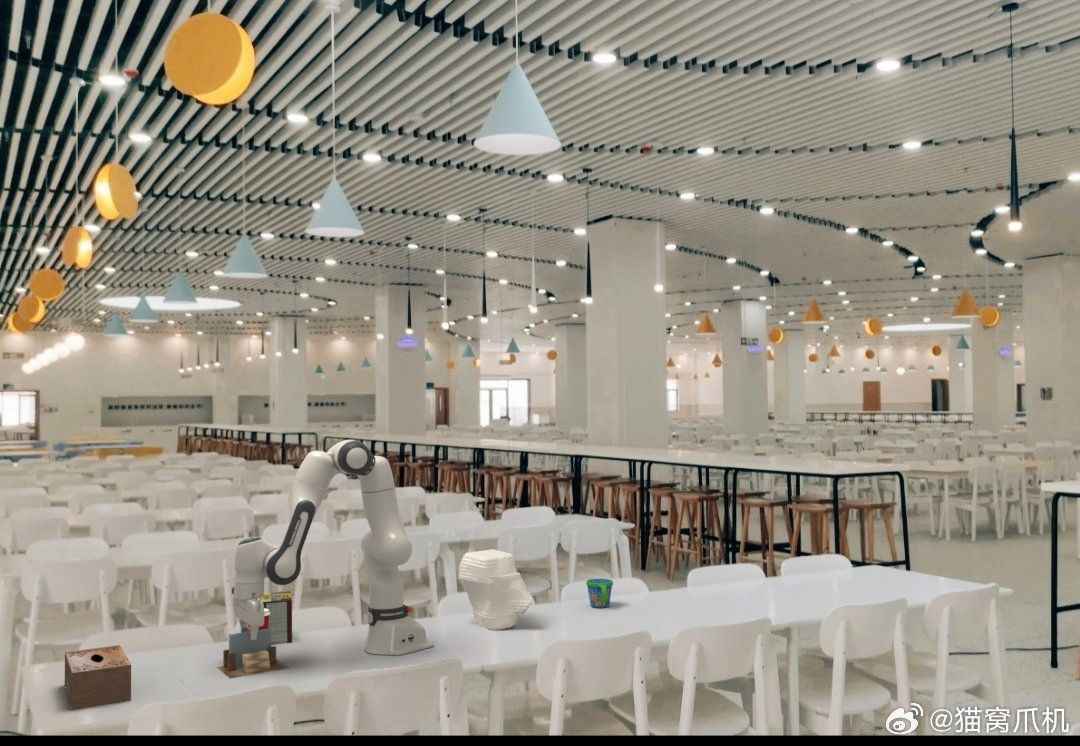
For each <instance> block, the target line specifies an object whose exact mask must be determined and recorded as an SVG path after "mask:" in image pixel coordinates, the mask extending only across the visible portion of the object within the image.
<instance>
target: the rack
mask: <svg viewBox="0 0 1080 746" xmlns="http://www.w3.org/2000/svg"><path fill="white" fill-rule="evenodd" d="M222 651H223V655H222V657H223V658H222V659H223V660H222V663H223V665H219V666H217V667H216V668H217V669H218V670H220V672H222V673H223V674H224V675H225V676H226V677H228V679H235V678H240V677H248V676H252V675H259V674H265V673H271V672H276V671H282V670H286V669H291V667H290V666H288V665H286V664H285V663H284V662H282V661H281V660H280V659H278V658H277V646H276V645H271V643H270V647H269V661H270V669H268V670H262V671H256V672H250V673H246V672H244V667H241V668H236V653H235V652H234V653H229V648H228V649H223V650H222Z"/></svg>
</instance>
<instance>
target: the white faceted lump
mask: <svg viewBox="0 0 1080 746" xmlns="http://www.w3.org/2000/svg"><path fill="white" fill-rule="evenodd" d="M515 564H516V562H515V557H514V555H513V554H512V553H509V552H507V551H501V550H497V549H493V548H492V549H486V550H485V549H484V550H478V551H477V550H476V551H470V552H469V551H468V552H465V553H464V554H463V555H462V558H461V561H460V562H459V565H458V566H459V569H458V577H457V579H459V581H460V584H461V585H462V587H463V589H464V591H465V593H467V596H468V597H467V598H468V601H469V603H470V605H471V607H472V613H473V618H474V621H475V624H476V625H477V626H478V627H479V628H482V629H483V628H484V629H487V630H490V631H502V630H505V629H510V628H512V627H514V626H516V625H517V623H518V617H519V615H521V614H525V613H526V612H527V611H528V609H529V608H530V606H531V605H532V603H533V598H532V596H531V594H530V593H529V590H528V587H527V586H526V582H525V581H524V579H523V578H522V575H521V572H518V570H517V568H516V565H515Z"/></svg>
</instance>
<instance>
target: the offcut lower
mask: <svg viewBox="0 0 1080 746" xmlns="http://www.w3.org/2000/svg"><path fill="white" fill-rule="evenodd" d="M268 669H270V661H265V662H259V663H254V664H249V665H245V664H244V672H246V673H250V672H256V671H262V670H268Z"/></svg>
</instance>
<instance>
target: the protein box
mask: <svg viewBox="0 0 1080 746" xmlns="http://www.w3.org/2000/svg"><path fill="white" fill-rule="evenodd" d="M260 600H262V601H263V604H264V608H265V609H269V612H270V615H269V628H268V629H270V643H271V646H276V645H284V644H293V597H292V593H291V591H288V590H287V591H278V592H276V591H275V592H264V596H263V597H261V598H260Z"/></svg>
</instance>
